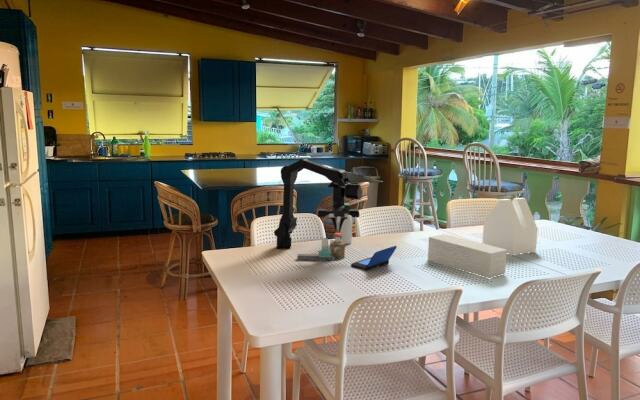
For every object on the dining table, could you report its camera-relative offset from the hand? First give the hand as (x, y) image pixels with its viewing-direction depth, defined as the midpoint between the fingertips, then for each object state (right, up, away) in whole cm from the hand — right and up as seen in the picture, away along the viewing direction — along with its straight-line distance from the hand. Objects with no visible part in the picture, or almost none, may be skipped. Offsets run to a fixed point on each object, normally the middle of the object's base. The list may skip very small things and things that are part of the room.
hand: (337, 231), depth 225 cm
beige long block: (+54, -15, -13) cm, 57 cm away
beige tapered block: (+84, -10, +18) cm, 87 cm away
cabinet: (0, -11, +2) cm, 11 cm away
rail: (-10, -12, -5) cm, 16 cm away
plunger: (0, -5, +1) cm, 5 cm away
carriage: (-6, -10, -6) cm, 13 cm away
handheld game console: (+15, -14, -14) cm, 25 cm away
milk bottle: (+4, -7, +25) cm, 26 cm away
